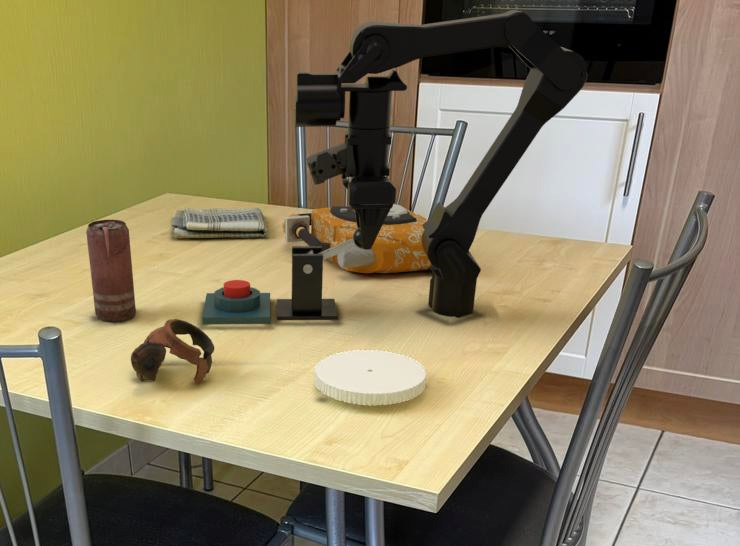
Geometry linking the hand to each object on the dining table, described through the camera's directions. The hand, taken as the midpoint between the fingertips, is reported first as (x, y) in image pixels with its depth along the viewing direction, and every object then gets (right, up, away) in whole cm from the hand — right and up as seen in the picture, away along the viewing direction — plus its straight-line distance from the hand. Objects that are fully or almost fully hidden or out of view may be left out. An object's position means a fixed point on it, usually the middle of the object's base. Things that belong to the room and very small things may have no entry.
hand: (364, 240), depth 135 cm
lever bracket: (-8, -10, +6) cm, 14 cm away
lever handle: (-3, -2, +2) cm, 5 cm away
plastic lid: (-1, -24, -17) cm, 30 cm away
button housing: (-19, -10, +6) cm, 22 cm away
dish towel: (-24, +17, +49) cm, 57 cm away
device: (+2, +5, +30) cm, 31 cm away
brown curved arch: (-27, -22, -14) cm, 38 cm away
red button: (-19, -7, +4) cm, 20 cm away
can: (-37, -10, +6) cm, 39 cm away
